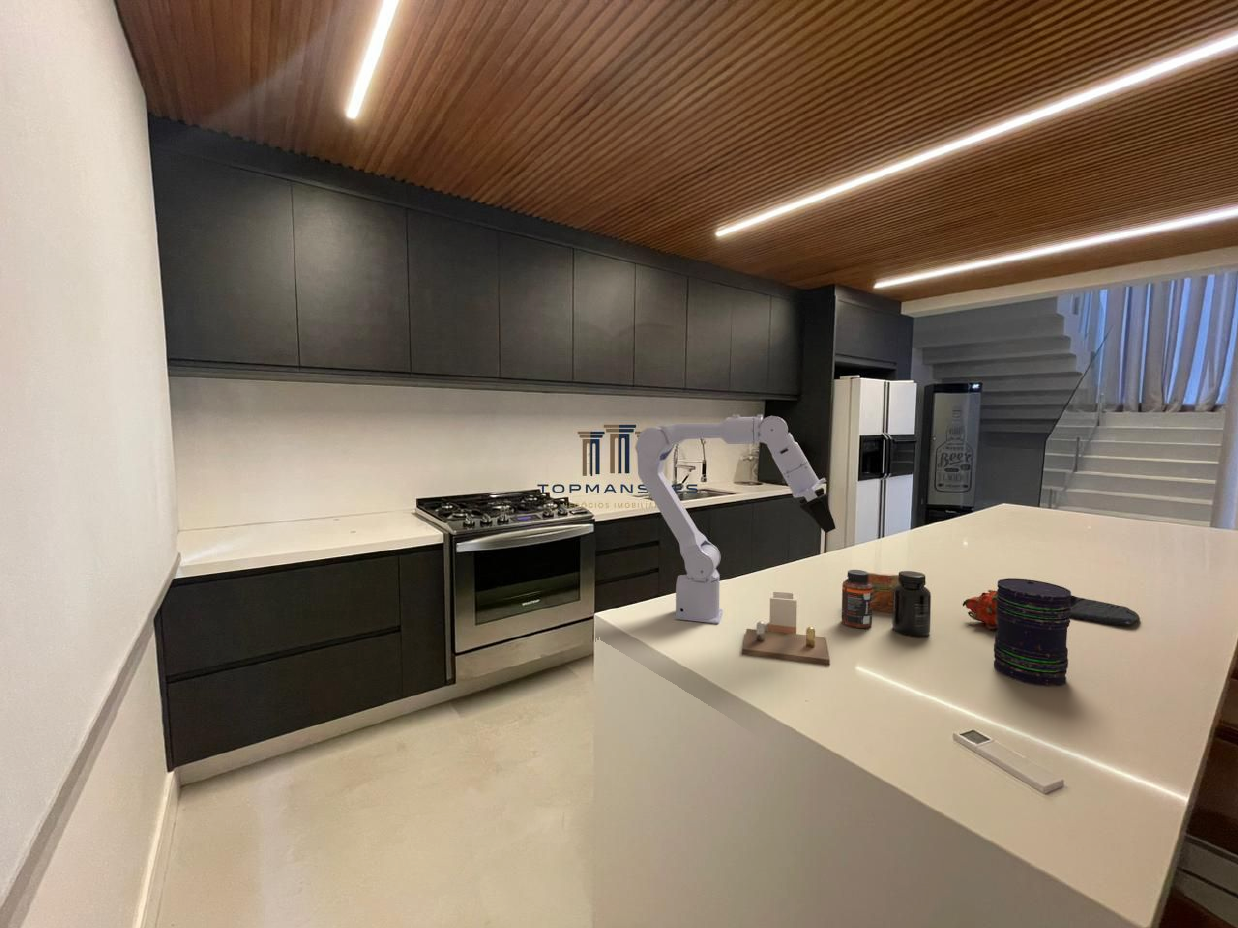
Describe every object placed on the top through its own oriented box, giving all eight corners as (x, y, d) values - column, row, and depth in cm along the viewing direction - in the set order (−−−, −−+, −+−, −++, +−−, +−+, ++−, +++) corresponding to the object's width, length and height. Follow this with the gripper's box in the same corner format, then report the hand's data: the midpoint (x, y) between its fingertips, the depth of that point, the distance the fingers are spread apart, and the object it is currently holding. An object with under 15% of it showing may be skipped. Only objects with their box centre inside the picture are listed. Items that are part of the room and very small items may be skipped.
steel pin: (756, 641, 98) (756, 622, 98) (756, 637, 100) (756, 619, 100) (764, 642, 98) (765, 623, 98) (765, 638, 99) (765, 620, 99)
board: (742, 654, 95) (742, 648, 95) (746, 633, 105) (746, 628, 105) (829, 664, 91) (829, 659, 90) (825, 642, 100) (825, 637, 100)
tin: (848, 608, 119) (849, 572, 118) (847, 603, 122) (848, 569, 121) (922, 616, 113) (923, 579, 113) (920, 611, 116) (921, 575, 116)
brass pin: (805, 647, 96) (806, 628, 95) (805, 643, 97) (806, 625, 97) (815, 648, 95) (815, 629, 95) (814, 644, 97) (815, 626, 96)
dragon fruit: (1033, 647, 101) (965, 636, 111) (1043, 614, 105) (976, 606, 115) (1019, 617, 98) (951, 608, 108) (1029, 585, 102) (962, 579, 112)
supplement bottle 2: (927, 627, 107) (929, 571, 106) (932, 640, 101) (934, 580, 100) (890, 622, 110) (892, 567, 109) (892, 634, 104) (894, 576, 103)
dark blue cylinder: (1073, 693, 80) (1078, 600, 79) (995, 677, 86) (999, 590, 85) (1060, 667, 89) (1065, 583, 88) (990, 654, 94) (994, 575, 93)
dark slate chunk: (1133, 636, 103) (1134, 612, 103) (1001, 606, 120) (1002, 587, 120) (1143, 617, 113) (1144, 596, 112) (1019, 593, 130) (1020, 574, 129)
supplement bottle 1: (875, 630, 106) (877, 576, 105) (844, 628, 107) (846, 575, 106) (867, 619, 112) (869, 568, 111) (838, 617, 113) (839, 567, 112)
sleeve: (769, 631, 106) (769, 598, 105) (770, 622, 111) (770, 590, 110) (796, 634, 104) (796, 600, 103) (795, 624, 109) (796, 592, 108)
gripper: (815, 460, 97) (852, 524, 96) (811, 457, 111) (844, 513, 109) (781, 478, 99) (817, 540, 98) (782, 473, 113) (813, 527, 112)
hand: (829, 527), depth 104 cm, fingers open, 7 cm apart
